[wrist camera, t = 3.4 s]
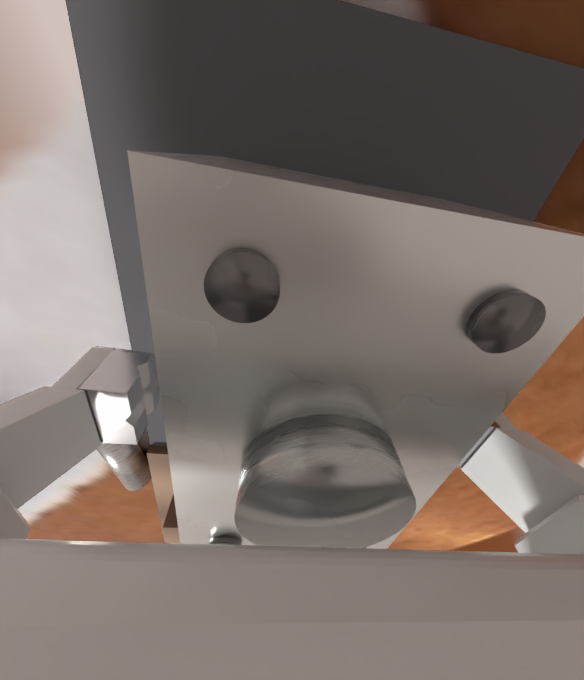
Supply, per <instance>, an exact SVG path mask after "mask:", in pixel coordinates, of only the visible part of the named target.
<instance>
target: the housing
mask: <svg viewBox="0 0 584 680" xmlns="http://www.w3.org/2000/svg"><path fill="white" fill-rule="evenodd" d="M127 153H128V160H129V168H130V175H131V182H132V190H133V197H134V205H135V212H136V219H137V227H138V234H139V242H140V249H141V256H142V264H143V271H144V279H145V286H146V293H147V301H148V308H149V316H150V323H151V330H152V338H153V345H154V353H155V360H156V367H157V375H158V382H159V390H160V397H161V404H162V412H163V419H164V427H165V434H166V441H167V449H168V456H169V464H170V471H171V479H172V486H173V493H174V501H175V508H176V516H177V523H178V530H179V538H180V543H183V544H221V545H258V546H295V547H331V548H368V549H387V548H388V547H389V546H390V544H391V543H392V542H393V541H394V540H395V539H396V537H397V536H398V535H399V534H400V533H401V531H402V530H403V529H404V528H405V527H406V526H407V524H408V523H409V522H410V521H411V520H412V518H413V517H414V516H415V515H416V514H417V512H418V511H419V510H420V509H421V508H422V507H423V505H424V504H425V503H426V502H427V501H428V499H429V498H430V497H431V496H432V495H433V494H434V492H435V491H436V490H437V489H438V488H439V486H440V485H441V484H442V483H443V482H444V481H445V479H446V478H447V477H448V476H449V475H450V473H451V472H452V471H453V470H454V469H455V468H456V466H457V465H458V464H459V463H460V462H461V460H462V459H463V458H464V457H465V456H466V455H467V453H468V452H469V451H470V450H471V449H472V447H473V446H474V445H475V444H476V443H477V442H478V440H479V439H480V438H481V437H482V436H483V434H484V433H485V432H486V431H487V430H488V429H489V427H490V426H491V425H492V424H493V423H494V421H495V420H496V419H497V418H498V417H499V416H500V414H501V413H502V412H503V411H504V410H505V408H506V407H507V406H508V405H509V404H510V403H511V401H512V400H513V399H514V398H515V397H516V395H517V394H518V393H519V392H520V391H521V390H522V388H523V387H524V386H525V385H526V384H527V382H528V381H529V380H530V379H531V378H532V377H533V375H534V374H535V373H536V372H537V371H538V369H539V368H540V367H541V366H542V365H543V364H544V362H545V361H546V360H547V359H548V358H549V356H550V355H551V354H552V353H553V352H554V351H555V349H556V348H557V347H558V346H559V345H560V343H561V342H562V341H563V340H564V339H565V338H566V336H567V335H568V334H569V333H570V332H571V330H572V329H573V328H574V327H575V326H576V325H577V323H578V322H579V321H580V320H581V319H582V317H583V316H584V233H580V232H576V231H572V230H567V229H563V228H559V227H555V226H551V225H547V224H543V223H539V222H534V221H530V220H526V219H522V218H518V217H514V216H510V215H505V214H501V213H497V212H493V211H489V210H485V209H481V208H477V207H472V206H468V205H464V204H460V203H456V202H452V201H448V200H444V199H439V198H434V197H429V196H424V195H418V194H413V193H408V192H403V191H398V190H393V189H387V188H382V187H377V186H372V185H367V184H362V183H356V182H351V181H346V180H341V179H336V178H331V177H326V176H320V175H315V174H310V173H305V172H300V171H295V170H289V169H284V168H279V167H274V166H269V165H264V164H259V163H253V162H248V161H243V160H238V159H233V158H228V157H222V156H211V155H195V154H178V153H162V152H145V151H129V150H127Z"/></svg>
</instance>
